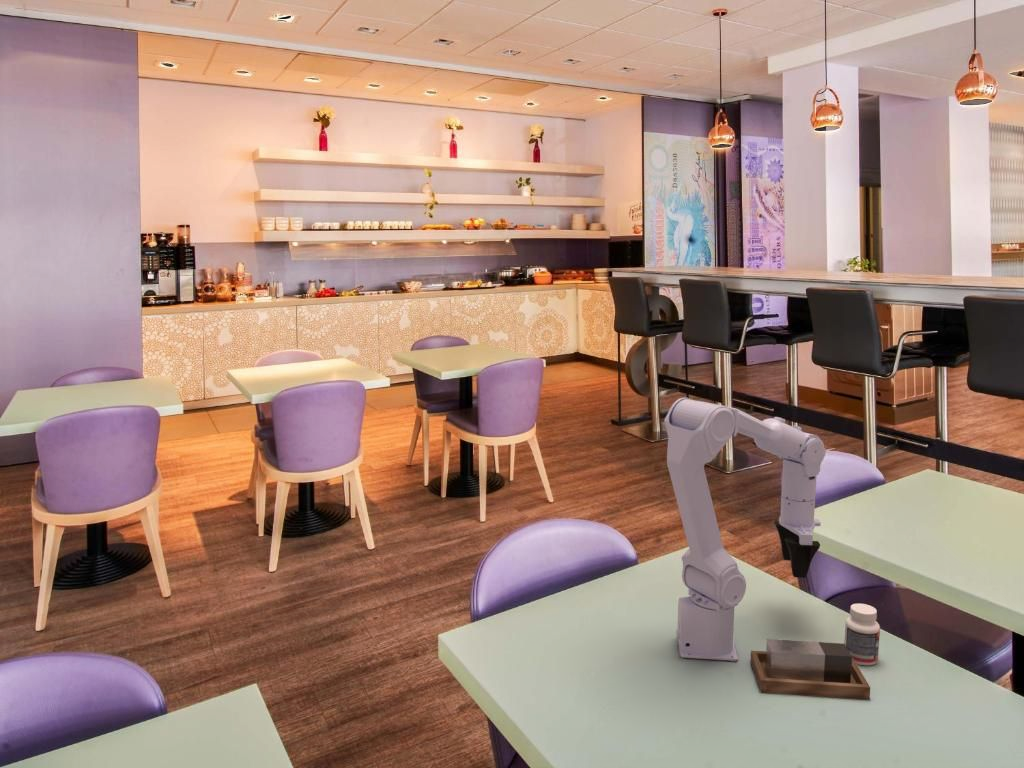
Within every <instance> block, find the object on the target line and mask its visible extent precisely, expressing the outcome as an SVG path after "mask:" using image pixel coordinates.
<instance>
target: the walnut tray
mask: <svg viewBox="0 0 1024 768" xmlns="http://www.w3.org/2000/svg"><path fill="white" fill-rule="evenodd" d="M749 662H750V665H751V667H752V670H753V673H754V675H755V676H754V677H755V680H756V682H757V685H758V686H757V687H758V688H759V691H760V693H767V694H768V693H769V694H782V695H794V696H795V695H796V696H797V695H799V696H810V697H811V696H812V697H825V698H839V699H841V698H842V699H852V700H853V699H854V700H868V701H869V700H870V698H871V686H870V684H869V683H868V680H867V679H866V678H865V676H864V674H863V672H862V671H861V668H859V665H858V664H856V662H855V661H854V659H853V657H852V667H851V682H850V683H836V682H821V681H806V680H791V679H776V678H769V676H768V674H767V671H766V668H765V663H766V650H750V661H749Z"/></svg>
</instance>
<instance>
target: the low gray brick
mask: <svg viewBox="0 0 1024 768" xmlns="http://www.w3.org/2000/svg"><path fill="white" fill-rule="evenodd" d="M765 642H766V643H765V645H766V646H765V648H766V649H765V651H766V663H765V668H766V671H767V674H768V676H769V678H776V679H791V680H806V681H821V682H836V683H850V682H851V667H852V655H851V654H850V652H849V650H848V649H847V647H846V645H845V644H844V643H841V642H840V643H839V642H824V641H823V642H822V641H809V640H808V641H807V640H805V641H804V640H792V639H791V640H789V639H773V638H772V639H771V638H767V639H766V641H765Z"/></svg>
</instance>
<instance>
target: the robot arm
mask: <svg viewBox="0 0 1024 768" xmlns="http://www.w3.org/2000/svg"><path fill="white" fill-rule="evenodd" d="M663 422H664V426H665V430H666V433H667V451H666V452H667V453H666V464H667V465H666V466H667V469H668V472H669V476H670V479H671V484H672V487H673V493H674V496H675V499H676V500H675V501H676V503H677V507H678V510H679V514H680V518H681V522H682V523H681V524H682V526H683V530H684V534H685V537H686V542H687V546H688V549H687V550H686V551H685V552H684V554H682V556H681V561H682V571H681V579H682V582H683V585H684V586H685V587H686V588H688V596H686V597H685V596H684V597H678V602H677V607H678V608H677V628H676V631H675V632H676V635H675V636H676V640H677V643H678V644H677V645H678V649H679V650H678V651H679V656H680V657H681V658H686V659H688V658H689V659H698V660H700V659H702V660H716V661H717V660H718V661H731V662H737V661H739V656H738V652H737V650H736V645H735V643H734V628H735V607H737V606H739V604H740V602H741V601H742V600H743V598H745V597H744V596H745V594H746V590H747V581H746V578H745V576H744V574H743V573H742V572H740V569H739V568H738V567H739V566H738V563H737V561H735V559H734V557H732V555H730V553H729V552H727V550H726V549H725V548H724V545H723V541H722V536H721V533H720V529H719V524H718V520H717V515H716V512H715V508H714V504H713V500H712V495H711V491H710V486H709V484H708V479H707V475H706V471H705V465H706V464H709V463H711V462H712V461H713V460H714V459H715V458H716V456H717V455H718V454H719V453H720V451H721V450H722V449H724V447H725V445H726V444H727V443H728V442H729V440H730V439H731V438H732V437H737V435H738V434H741V435H743V436H746V437H750V438H752V439H753V441H754V443H755V445H756V447H757V448H759V449H760V450H762V451H765V452H767V453H770V454H772V455H775V456H777V457H778V458H779V460H783V461H782V480H781V497H780V515H779V517H778V520H775V521H774V525H775V528H776V530H777V532H778V536H779V541H780V547H781V553H782V557H783V561H790V565H791V573H792V577H793V578H802V579H803V578H804V579H805V578H807V575H808V571H809V570H810V566H811V563H812V561H813V558H814V556H815V555H816V554H817V552H818V551H819V550H820V547H821V543H820V542H819V541H818V540H813V536H814V535H813V532H814V530H815V527H821V525H822V522H821V521H820V519H817V518H815V507H816V491H817V490H816V489H817V476H818V475H819V474H820V472H821V465H822V462H823V461H824V459H825V456H826V453H827V449H826V448H825V445H824V441H823V440H821V438H820V436H818V435H816V434H813V433H808V432H804V431H803V430H802V427H800V426H798V425H790V424H787V423H786V419H785V418H782V417H779V416H774V417H773V418H766V419H763V420H760V419H758V418H756V417H754V416H752V415H751V414H749V413H747V412H744V411H742V410H740V409H738V408H737V407H736V408H734V407H731V406H727V405H721V404H717V403H713V402H712V403H711V402H707V401H702V400H694V399H692V398H689V397H681V398H678V399H676V401H674V402H673V403H672V405H671V406H670V408H669V410H668V411H667V414H666V416H665V418H664V420H663Z"/></svg>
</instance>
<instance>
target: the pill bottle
mask: <svg viewBox="0 0 1024 768" xmlns="http://www.w3.org/2000/svg"><path fill="white" fill-rule="evenodd" d="M877 611H878V610H877V609H876V608H875V607H874V606H872V605H869V604H866V603H853V604H851V605H850V609H849V614H850V616H848V617H847V618H846V620H845V623H844V624H845V626H844V627H845V629H844V641H843V642H844V643H843V644H845V645H846V647H847V649H848V650H849V652H850V654H851V655H852V657H853V659H854V661H855V662H856V664H857V666H867V667H868V666H869V667H870V666H874V665H876V664H877V663H878V661H879V660H878V659H879V647H880V634H881V626H880V624H879V623H878V622H877V619H878V614H877V613H878V612H877Z"/></svg>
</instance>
